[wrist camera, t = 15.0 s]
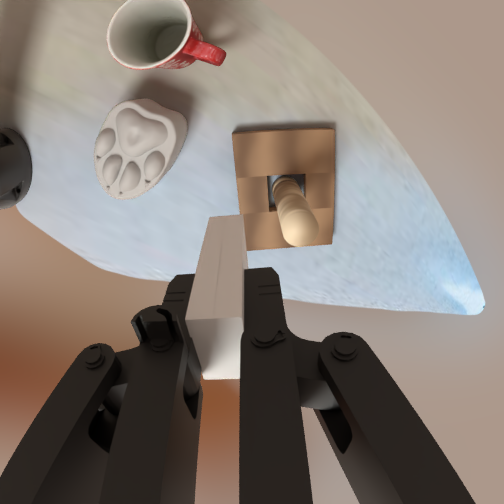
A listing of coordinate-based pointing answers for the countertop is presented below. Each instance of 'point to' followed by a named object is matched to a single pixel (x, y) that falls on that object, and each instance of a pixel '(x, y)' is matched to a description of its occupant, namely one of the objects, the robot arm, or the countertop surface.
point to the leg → (294, 213)
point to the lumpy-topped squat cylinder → (137, 147)
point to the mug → (158, 36)
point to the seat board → (283, 163)
